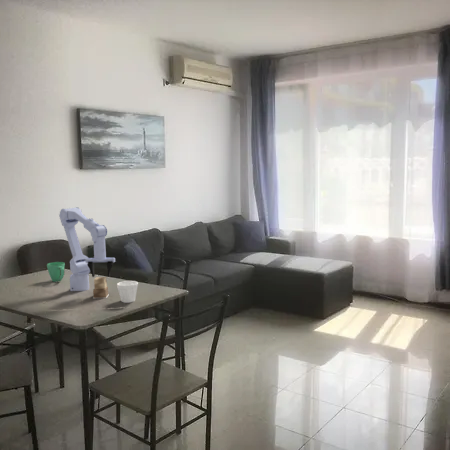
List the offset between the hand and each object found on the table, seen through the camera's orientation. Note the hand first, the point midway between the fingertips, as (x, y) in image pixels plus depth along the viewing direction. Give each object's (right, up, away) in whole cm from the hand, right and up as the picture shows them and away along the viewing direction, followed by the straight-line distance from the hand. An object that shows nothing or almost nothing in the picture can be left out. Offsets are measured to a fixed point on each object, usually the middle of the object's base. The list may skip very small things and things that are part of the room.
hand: (101, 276), depth 257 cm
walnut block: (+1, -10, -3) cm, 10 cm away
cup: (+16, -11, -13) cm, 23 cm away
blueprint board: (+4, -10, 0) cm, 10 cm away
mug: (-33, -7, +35) cm, 48 cm away
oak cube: (+1, -6, -3) cm, 6 cm away
